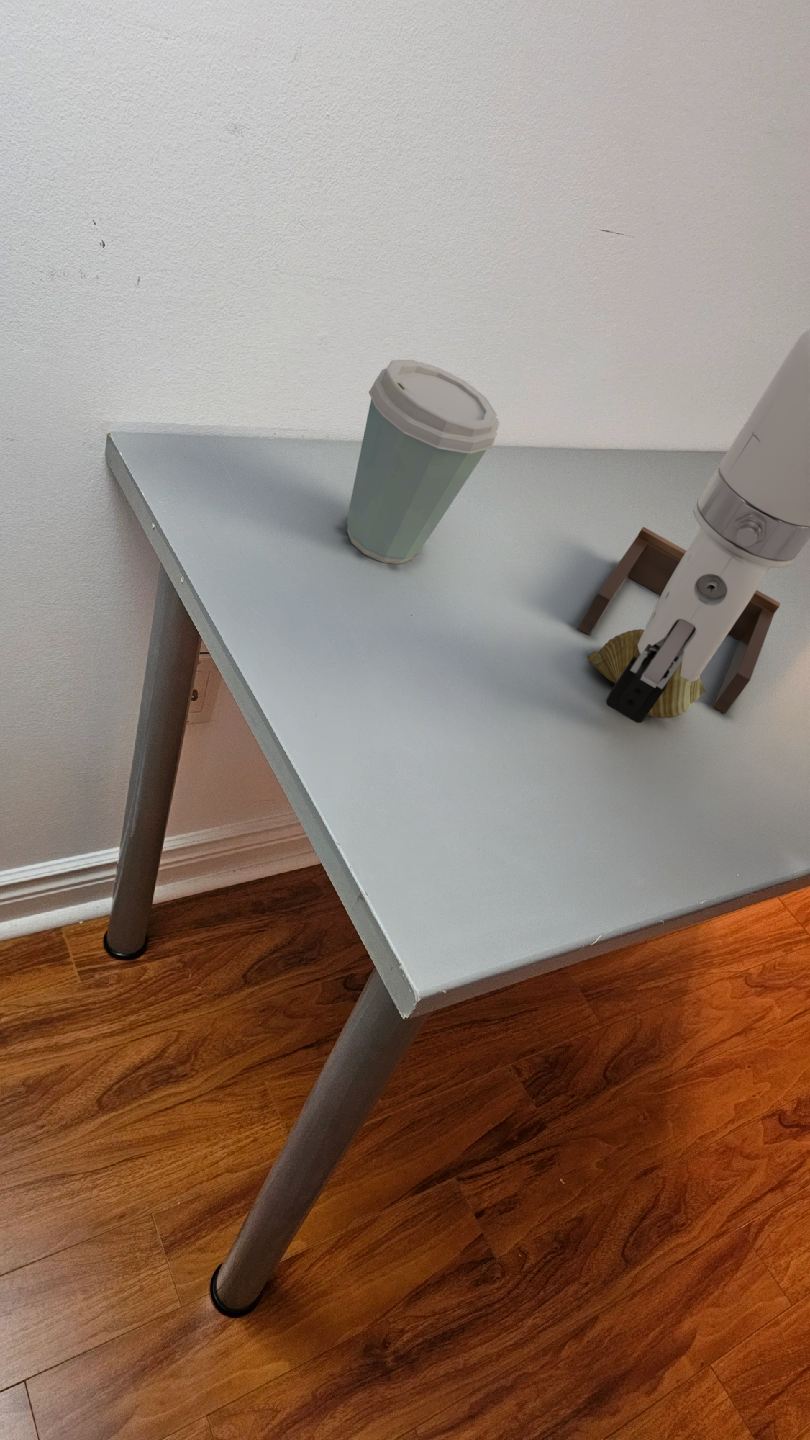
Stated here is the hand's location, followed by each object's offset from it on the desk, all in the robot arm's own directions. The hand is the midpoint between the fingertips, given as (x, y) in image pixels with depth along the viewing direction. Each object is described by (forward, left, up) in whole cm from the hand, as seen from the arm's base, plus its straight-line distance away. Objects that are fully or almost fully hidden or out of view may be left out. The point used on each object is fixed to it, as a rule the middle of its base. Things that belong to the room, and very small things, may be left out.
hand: (624, 708), depth 82 cm
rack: (-1, -17, -2) cm, 17 cm away
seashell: (0, -6, -2) cm, 6 cm away
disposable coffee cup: (+24, -6, -2) cm, 25 cm away
